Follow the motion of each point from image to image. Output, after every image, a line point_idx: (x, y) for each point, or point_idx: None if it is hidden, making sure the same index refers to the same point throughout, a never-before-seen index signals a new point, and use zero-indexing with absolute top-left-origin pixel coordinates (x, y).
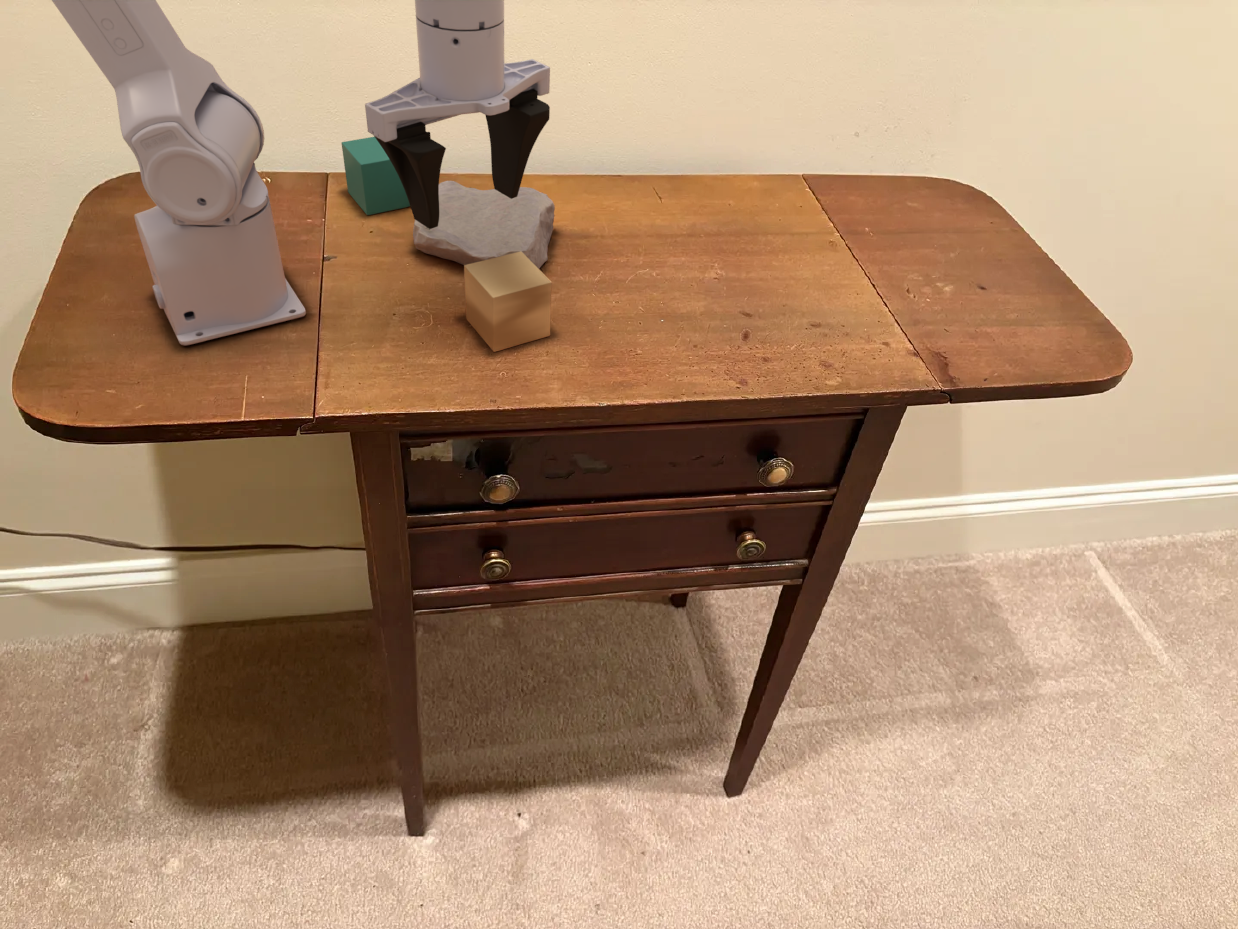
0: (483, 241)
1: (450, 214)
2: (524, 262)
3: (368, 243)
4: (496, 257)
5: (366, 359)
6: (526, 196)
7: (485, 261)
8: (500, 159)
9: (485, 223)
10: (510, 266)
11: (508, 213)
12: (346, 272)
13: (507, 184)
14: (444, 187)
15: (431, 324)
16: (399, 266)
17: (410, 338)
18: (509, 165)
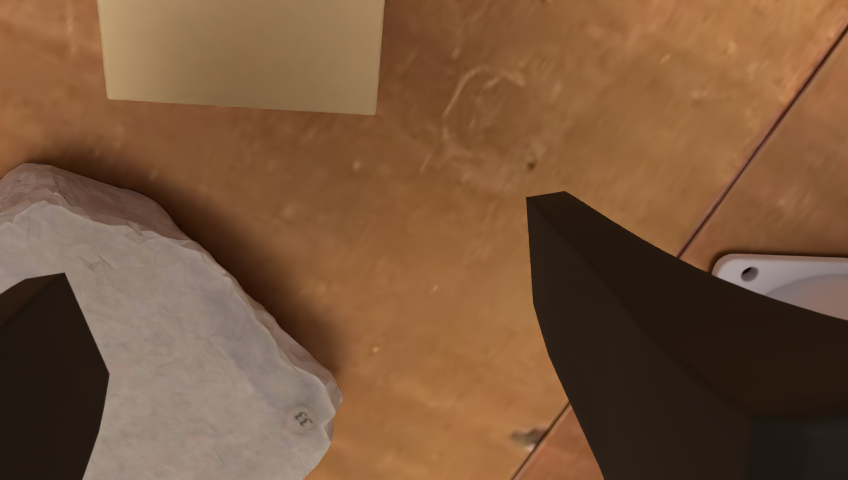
0: (165, 307)
1: (212, 447)
2: (131, 14)
3: (415, 458)
4: (228, 104)
5: (718, 9)
6: None
7: (285, 98)
8: (34, 472)
9: (124, 373)
10: (204, 15)
11: None
12: (527, 376)
13: (54, 337)
14: None
15: (470, 72)
16: (398, 350)
17: (560, 39)
18: (2, 409)
